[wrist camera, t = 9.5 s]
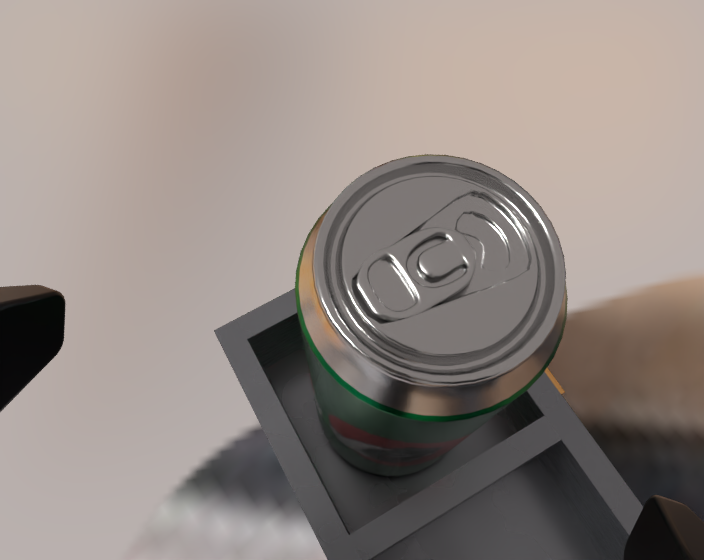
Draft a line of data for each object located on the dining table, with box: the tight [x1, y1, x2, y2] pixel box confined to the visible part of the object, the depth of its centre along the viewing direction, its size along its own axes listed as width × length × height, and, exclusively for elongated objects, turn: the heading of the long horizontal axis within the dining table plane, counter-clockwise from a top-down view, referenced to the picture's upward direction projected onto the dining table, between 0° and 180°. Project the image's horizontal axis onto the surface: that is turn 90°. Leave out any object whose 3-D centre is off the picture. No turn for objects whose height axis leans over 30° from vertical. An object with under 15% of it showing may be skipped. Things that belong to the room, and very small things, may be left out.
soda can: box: [295, 155, 567, 476], centre depth 16 cm, size 5×5×12 cm
